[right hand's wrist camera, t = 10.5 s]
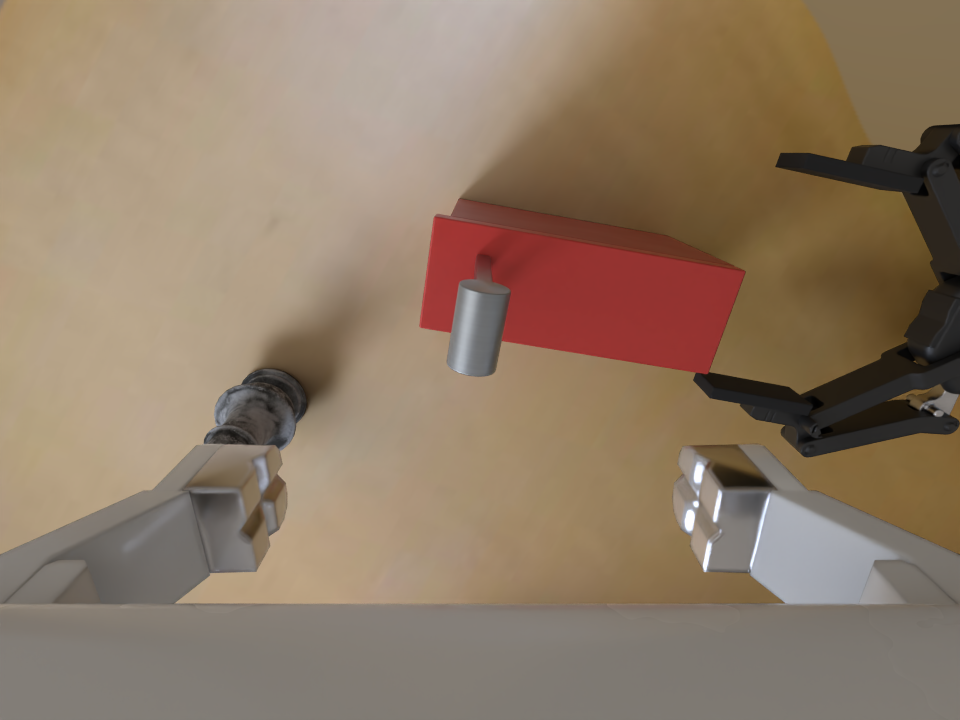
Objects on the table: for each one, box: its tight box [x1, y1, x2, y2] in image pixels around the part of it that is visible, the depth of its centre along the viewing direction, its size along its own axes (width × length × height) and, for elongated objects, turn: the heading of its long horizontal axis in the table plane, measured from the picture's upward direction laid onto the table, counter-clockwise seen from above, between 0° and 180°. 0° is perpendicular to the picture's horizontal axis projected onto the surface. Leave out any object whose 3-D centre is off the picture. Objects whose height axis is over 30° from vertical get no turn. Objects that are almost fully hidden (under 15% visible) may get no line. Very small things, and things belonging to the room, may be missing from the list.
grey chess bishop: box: [204, 369, 307, 450], centre depth 35 cm, size 6×6×12 cm
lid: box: [419, 214, 745, 377], centre depth 23 cm, size 16×6×9 cm, turn 80°
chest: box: [451, 199, 734, 266], centre depth 32 cm, size 15×6×10 cm, turn 80°
